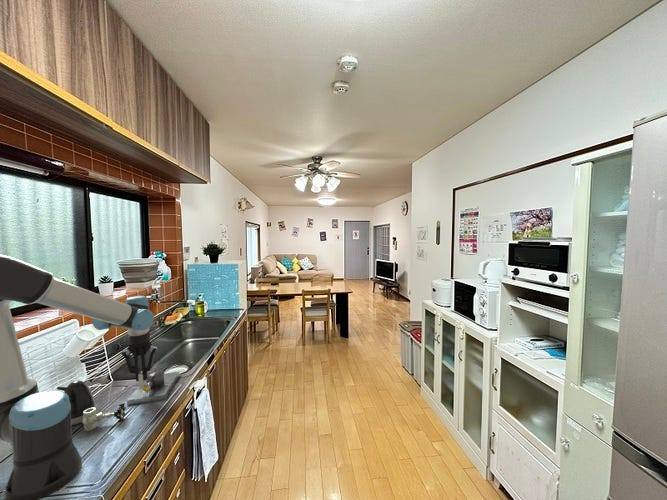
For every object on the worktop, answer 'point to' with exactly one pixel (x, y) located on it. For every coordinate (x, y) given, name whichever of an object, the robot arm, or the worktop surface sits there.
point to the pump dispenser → (78, 400)
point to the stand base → (154, 390)
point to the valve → (100, 416)
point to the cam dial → (154, 380)
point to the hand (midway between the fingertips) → (142, 387)
